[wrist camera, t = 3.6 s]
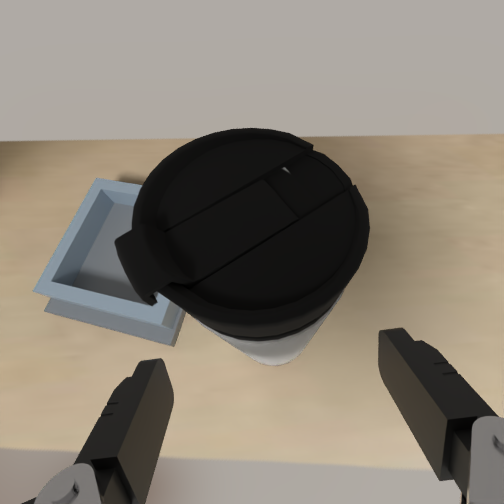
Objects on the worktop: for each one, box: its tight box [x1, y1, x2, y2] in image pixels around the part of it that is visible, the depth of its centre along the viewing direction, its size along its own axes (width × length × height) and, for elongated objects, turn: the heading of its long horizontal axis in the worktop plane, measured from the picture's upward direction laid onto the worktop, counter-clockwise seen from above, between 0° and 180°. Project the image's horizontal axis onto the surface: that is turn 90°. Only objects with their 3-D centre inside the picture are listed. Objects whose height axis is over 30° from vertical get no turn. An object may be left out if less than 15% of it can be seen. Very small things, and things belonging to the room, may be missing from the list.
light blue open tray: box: [33, 178, 186, 347], centre depth 28 cm, size 13×15×4 cm
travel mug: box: [114, 128, 370, 366], centre depth 16 cm, size 6×7×20 cm
